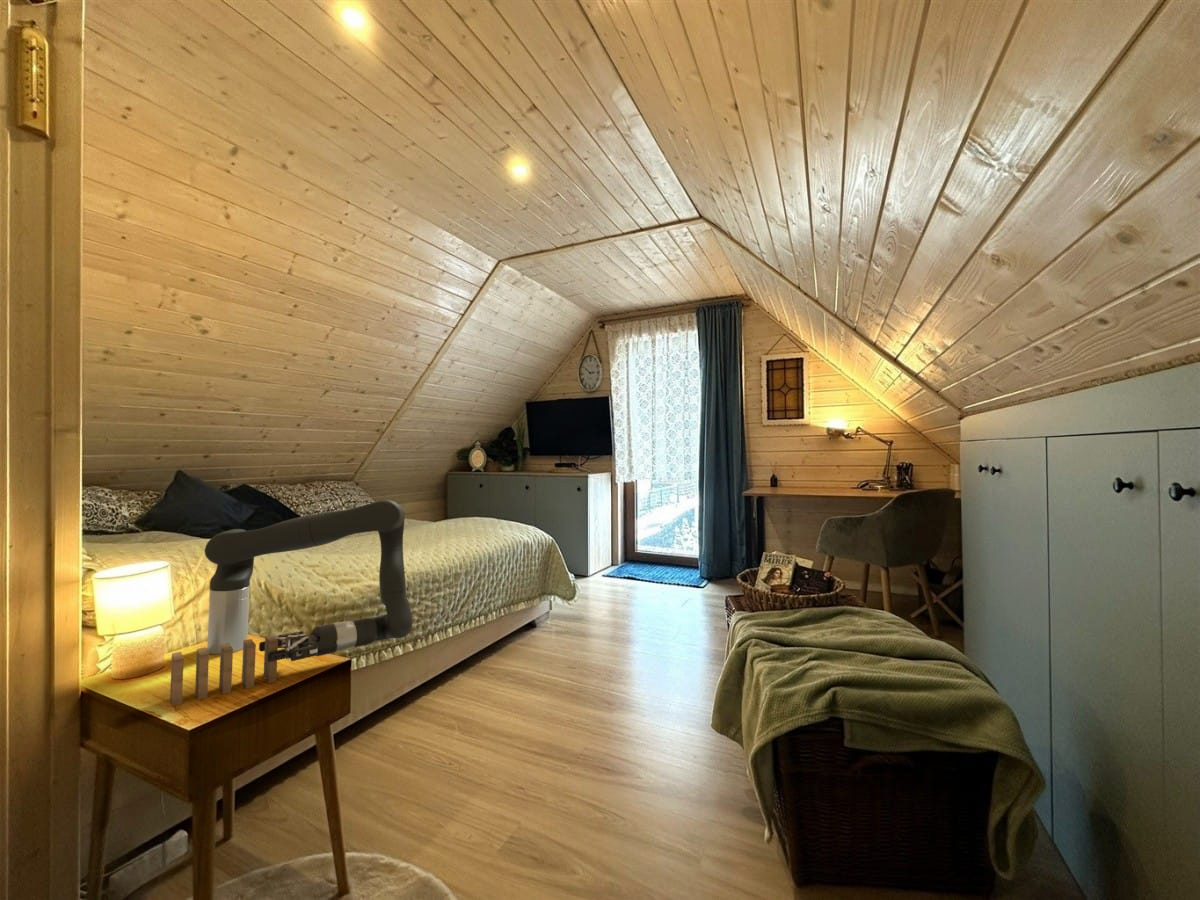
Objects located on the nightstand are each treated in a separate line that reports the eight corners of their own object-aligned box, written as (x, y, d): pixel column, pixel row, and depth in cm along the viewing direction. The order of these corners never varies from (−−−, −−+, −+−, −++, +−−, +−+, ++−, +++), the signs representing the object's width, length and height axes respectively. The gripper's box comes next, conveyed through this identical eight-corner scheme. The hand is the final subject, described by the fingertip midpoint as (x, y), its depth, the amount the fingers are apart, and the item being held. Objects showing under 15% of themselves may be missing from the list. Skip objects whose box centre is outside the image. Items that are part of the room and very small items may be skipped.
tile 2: (241, 681, 127) (243, 640, 128) (249, 680, 129) (251, 638, 129) (246, 688, 124) (247, 646, 124) (254, 686, 125) (255, 644, 125)
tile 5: (170, 698, 118) (171, 653, 118) (179, 696, 119) (180, 651, 119) (172, 706, 115) (174, 660, 115) (181, 704, 116) (183, 658, 116)
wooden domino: (195, 692, 121) (196, 648, 121) (203, 690, 122) (205, 647, 122) (198, 700, 118) (200, 655, 118) (207, 698, 119) (208, 653, 119)
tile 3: (219, 687, 124) (220, 644, 125) (227, 685, 125) (228, 643, 126) (222, 694, 121) (224, 650, 121) (231, 692, 122) (232, 649, 122)
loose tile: (263, 676, 131) (265, 636, 131) (270, 675, 132) (272, 634, 132) (268, 683, 127) (270, 641, 127) (276, 681, 128) (278, 640, 128)
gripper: (326, 617, 145) (257, 629, 134) (344, 630, 134) (270, 644, 123) (325, 644, 145) (256, 658, 133) (343, 660, 134) (269, 677, 123)
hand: (263, 652), depth 128 cm, fingers open, 8 cm apart
